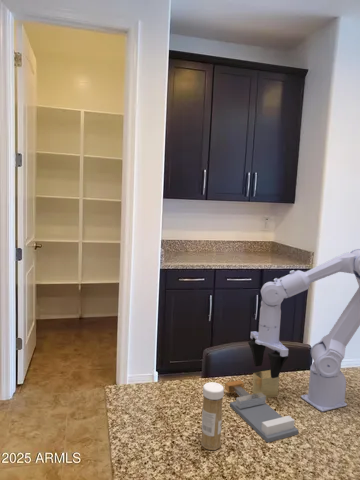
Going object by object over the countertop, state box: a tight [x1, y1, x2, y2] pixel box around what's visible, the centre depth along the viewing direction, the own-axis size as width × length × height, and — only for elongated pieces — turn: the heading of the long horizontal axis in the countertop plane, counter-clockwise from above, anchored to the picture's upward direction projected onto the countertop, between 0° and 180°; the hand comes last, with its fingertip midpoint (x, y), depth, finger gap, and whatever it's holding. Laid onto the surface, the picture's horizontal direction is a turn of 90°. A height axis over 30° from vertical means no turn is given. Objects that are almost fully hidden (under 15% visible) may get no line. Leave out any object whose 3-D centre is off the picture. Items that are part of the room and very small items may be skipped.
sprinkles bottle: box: [200, 381, 225, 451], centre depth 79 cm, size 5×5×14 cm
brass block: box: [251, 369, 280, 399], centre depth 102 cm, size 6×4×6 cm, turn 114°
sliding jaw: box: [224, 379, 267, 409], centre depth 98 cm, size 8×10×2 cm
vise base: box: [229, 400, 299, 443], centre depth 90 cm, size 9×16×3 cm, turn 24°
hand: (266, 371), depth 102 cm, fingers open, 7 cm apart
